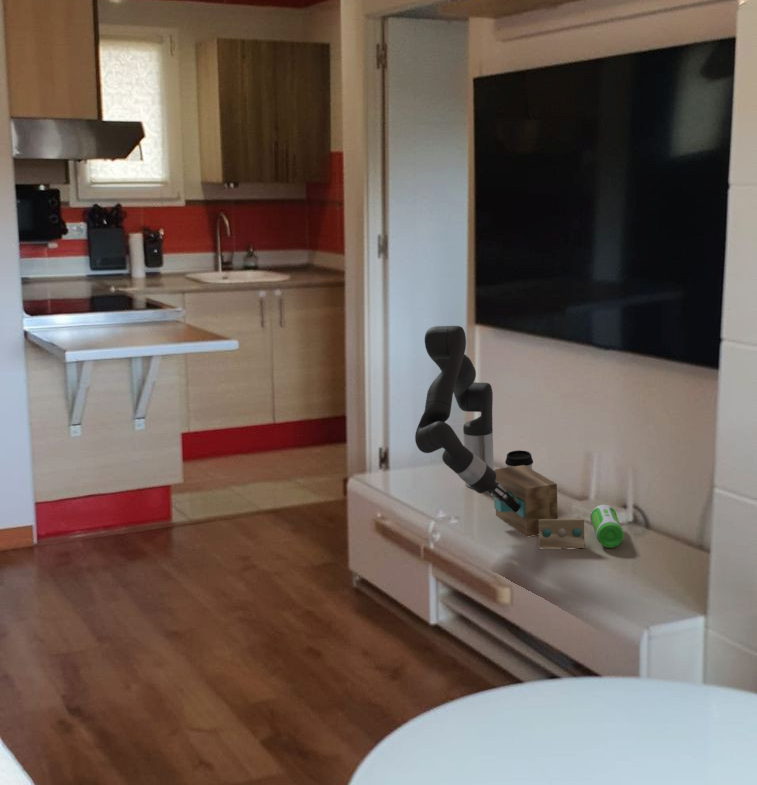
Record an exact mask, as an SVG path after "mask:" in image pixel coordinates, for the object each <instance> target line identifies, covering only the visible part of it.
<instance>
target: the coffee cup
mask: <svg viewBox="0 0 757 785" xmlns="http://www.w3.org/2000/svg"><path fill="white" fill-rule="evenodd" d="M504 463H505V465H506V468H508V467H514V466H521V465H525V466H527V467H528V468H530V469H532V470H533V463H534V460H533V457H532V453H531V452H530V451H527V450H519V449H518V450H512V451H509V452H508V453H507V454H506V458H505V462H504Z"/></svg>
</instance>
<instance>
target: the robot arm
mask: <svg viewBox="0 0 757 785" xmlns="http://www.w3.org/2000/svg"><path fill="white" fill-rule="evenodd" d="M424 345H425V346H424V347H425V349H426V350H425V351H426V352H427V355H428V356H429V358H430V359H431V360H432V361H433V362H434V363H435V364H436V366H437V367H439V370H440V371H441V372H440V373H439V374H438V375H437V376H436V377H435V379H434V380H433V381H432V382H431V384H430V386H429V387H428V390H427V393H426V399H425V404H424V405H425V406H424V411H423V413H422V415H421V418H420V421H419V422H418V425H417V428H416V431H415V435H414V437H415V438H414V440H415V444H416V447H417V449H418V450H419V451H420V452H421V453H424V454H431V453H434V452H436V451H438V450H441V449H444V451H443V452H442V456H441V457H442V458H441V459H442V461H443V464H445V466H447V467H448V468H450V470H452V472H453V473H455V474H456V475H457V476H458V477H459V478H460V479H461V480H462V481H463V482H464V483H465V487H468V488H472V489H473V490H474V491H475V492H476V493H478V494H483V493H485V492H486V493H487V494H488V495H489V496H491V497H493V499H494V498H496V499H497V500H498V501H500V502H502V503H504V504H505V505H507V506H508V507H510V508H511V509H512V510H513V511H515V512H517V511H518V510H519V509H520V505H519V504H518V503H516V502H515V501H514V499H513V497H511V496H510V495H509V494H508V492H507V491H506V490H505V489H504V488H503V486H502V485H501V484H499V483H497V482H496V481H495V480H496V472H495V471H494V469H495V465H494V464H495V459H494V438H493V437H494V435H493V432H494V430H493V404H494V403H493V401H494V400H493V398H494V396H493V394H494V393H493V387H492V385H491V384H490V383H488V382H475V381H476V377H477V371H476V367H475V366H474V364H473V362H472V360H471V359H470V357H469V356H467V355H466V354H465V353H466V346H467V338H466V331H465V330H464V328H463V327H462V326H460V325H439V326H438V325H437V326H432V327H430V328H428V329H427V330H426V332H425V334H424ZM453 395H454V398H455V400H456V404H457V406H458V408H459V409H460V410H461V411H464V412H468V413H469V412H471V413H472V412H473V413H474V412H475V413H477V412H478V413H480V415H479V416H478V417H477V418H474V419H472V420H469V421H466V422H465V423H464V424H463V427H462V431H463V443H462V441H461V440H460V438H459V437H458V435H457V434H456V432H455V431H454V429H453V427H452V426H450V425H449V424H448V423H446V422H447V421H448V419H449V418H450V416H451V412H452V411H451V410H452V403H453Z"/></svg>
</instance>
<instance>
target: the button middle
mask: <svg viewBox="0 0 757 785" xmlns="http://www.w3.org/2000/svg"><path fill="white" fill-rule="evenodd" d="M507 492H508V494H509V495H510V496H511V497H513V499H514V495H513V494H512V493H510V492H509V491H507ZM493 504H494V509H495V511H496V510H498V511H499V512H507V511H513V510H512V509H511V508H510V507H508V506H507V505H505V504H504V503H502V502H500V501H498V500H497V499H496V498H494V497H493Z"/></svg>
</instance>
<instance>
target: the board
mask: <svg viewBox="0 0 757 785" xmlns="http://www.w3.org/2000/svg"><path fill="white" fill-rule="evenodd" d="M538 547H539V548H543V549H542V550H559V549H558V548H585V518H558V519H539V535H538ZM539 548H538V549H539ZM585 549H586V548H585Z"/></svg>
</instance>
